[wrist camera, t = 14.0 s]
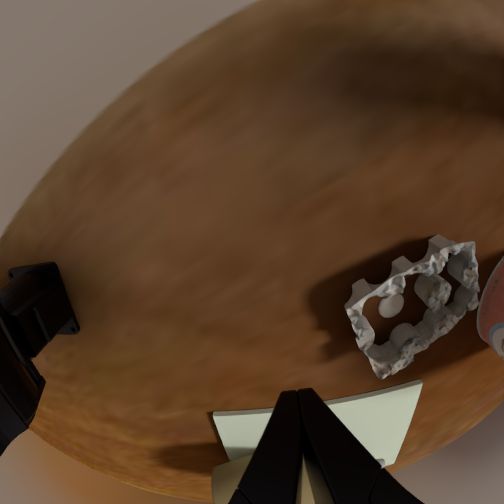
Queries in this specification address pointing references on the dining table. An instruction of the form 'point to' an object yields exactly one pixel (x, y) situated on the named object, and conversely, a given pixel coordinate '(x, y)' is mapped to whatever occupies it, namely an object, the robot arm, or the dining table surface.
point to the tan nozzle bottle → (232, 472)
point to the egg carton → (432, 294)
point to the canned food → (493, 311)
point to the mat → (347, 410)
